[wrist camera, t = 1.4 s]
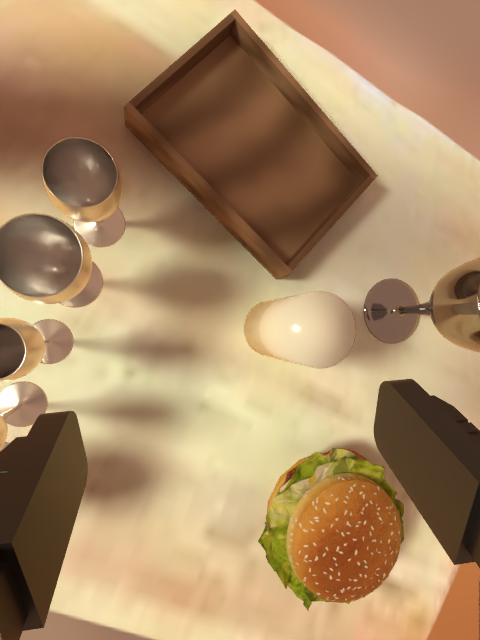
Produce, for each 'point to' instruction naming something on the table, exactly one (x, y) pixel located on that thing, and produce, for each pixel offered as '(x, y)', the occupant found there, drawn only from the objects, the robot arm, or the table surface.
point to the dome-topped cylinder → (302, 329)
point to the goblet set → (55, 266)
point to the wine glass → (428, 308)
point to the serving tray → (250, 145)
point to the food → (333, 527)
